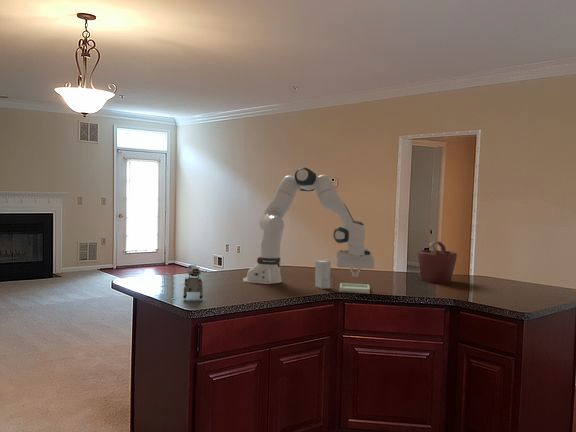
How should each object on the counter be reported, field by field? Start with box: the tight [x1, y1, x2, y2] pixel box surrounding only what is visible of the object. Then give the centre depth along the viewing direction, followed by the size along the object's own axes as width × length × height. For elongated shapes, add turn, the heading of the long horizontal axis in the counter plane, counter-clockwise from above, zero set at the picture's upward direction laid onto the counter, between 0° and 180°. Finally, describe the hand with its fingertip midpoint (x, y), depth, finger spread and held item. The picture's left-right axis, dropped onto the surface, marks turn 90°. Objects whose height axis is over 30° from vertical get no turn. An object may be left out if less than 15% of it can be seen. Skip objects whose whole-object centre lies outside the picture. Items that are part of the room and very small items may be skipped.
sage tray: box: [338, 282, 371, 295], centre depth 288 cm, size 16×16×2 cm
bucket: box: [417, 240, 458, 285], centre depth 327 cm, size 24×22×25 cm
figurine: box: [182, 264, 204, 299], centre depth 254 cm, size 9×12×15 cm
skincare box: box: [314, 260, 331, 290], centre depth 293 cm, size 8×6×15 cm
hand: (355, 276), depth 288 cm, fingers closed
